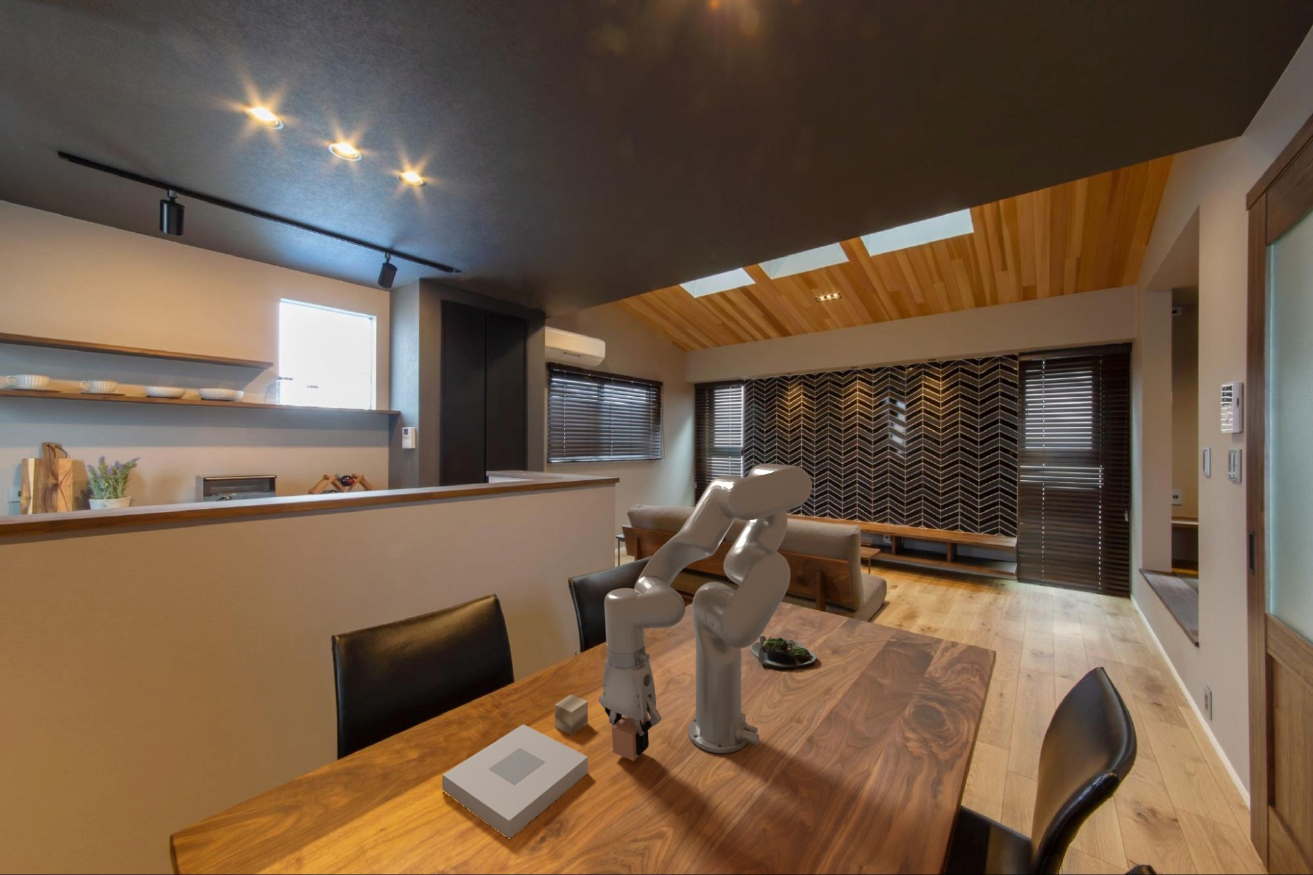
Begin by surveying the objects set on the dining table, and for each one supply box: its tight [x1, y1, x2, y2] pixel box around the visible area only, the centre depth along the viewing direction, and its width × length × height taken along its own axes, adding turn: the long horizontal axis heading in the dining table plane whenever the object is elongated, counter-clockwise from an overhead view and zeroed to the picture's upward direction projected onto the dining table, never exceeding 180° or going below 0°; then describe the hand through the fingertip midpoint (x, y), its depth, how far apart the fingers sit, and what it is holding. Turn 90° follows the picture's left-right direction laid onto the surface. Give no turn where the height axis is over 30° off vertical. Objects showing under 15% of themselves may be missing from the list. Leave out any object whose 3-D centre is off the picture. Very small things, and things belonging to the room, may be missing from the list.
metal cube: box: [554, 694, 589, 736], centre depth 103 cm, size 5×5×5 cm
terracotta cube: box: [611, 715, 644, 762], centre depth 93 cm, size 5×5×5 cm
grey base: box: [441, 724, 589, 839], centre depth 86 cm, size 18×18×3 cm
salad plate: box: [750, 635, 817, 671], centre depth 138 cm, size 19×18×5 cm
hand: (630, 745), depth 93 cm, fingers closed on terracotta cube, 5 cm apart
